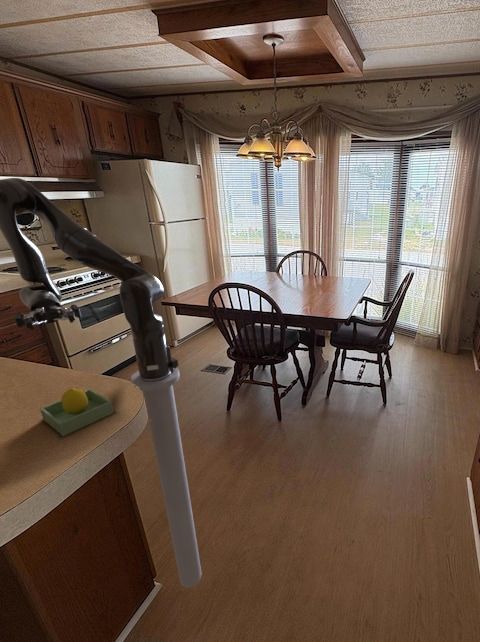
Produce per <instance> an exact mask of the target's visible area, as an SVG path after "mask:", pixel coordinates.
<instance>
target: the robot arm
mask: <svg viewBox="0 0 480 642" xmlns="http://www.w3.org/2000/svg"><path fill="white" fill-rule="evenodd" d="M27 213H30V214H32V215H34V216H36V217H37V218H39V219H40V220H41V221H42V222H44V223H45V224H46V225H47V226H48V228H49V230H50V233H51V236H52V238H53V240H54V241H53V242H54V243H55V245H56V246H57V247H58V248H59V250H60V251H61V252H63V253H64V254H66V255H67V256H69V257H70V258H71V259H73V260H74V261H75V262H77V263H79V264H80V265H82V266H83V267H87V268H89V269H92V270H95V271H98V272H100V273H104V274H106V275H108V276H112V277H114V278H115V279H117V280H119V281H121V284H120V286H119V298H120V302H121V306H122V311H123V314H124V317H125V320H126V321H127V323H128V324H129V327H130V328H129V329H130V332H131V337H132V343H133V348H134V352H135V358H136V363H137V368H138V371H139V376H140V379H141V380H143V381H158V380H162V379H164V378H166V377H168V376H169V375H170V374H171V373H172V372H173V368H175V369H176V367H177V368H178V367H179V360H178V359H177V358H174V357H172V354H171V346H170V345H167V339H166V333H165V327H164V320H163V317H162V315H159V314H157V313H155V311H154V309H153V304H155V303H156V302H158V301H159V300H160V299H162V298H163V297H164V294H165V290H164V286H163V284H162V282H161V281H160V280H159V279H158V278H157V276H155V275H153V273H150V272H149V271H148V270H145V269H144V268H142V267H140V266H139V265H137V264H135V262H133V261H131V260H130V259H128V258H127V257H125V256H124V255H122V254H121V253H119V252H118V251H117V250H115V249H114V248H112V247H111V246H110V245H108V244H107V243H106V242H104V241H103V240H102V239H101V238H99V237H98V236H97V235H95V234H94V233H92V232H91V230H88V229H87V228H86V227H84V226H83V225H82V224H80V223H79V222H77V221H76V220H75V219H73V218H72V217H71V216H69V215H68V213H66V212H64V211H63V210H62V209H61V208H60V207H58V206H57V205H55V203H53V202H52V201H51V200H50V199H49V198H48V197H47V196H46V195H45V194H44V193H42V192H41V191H40V190H39V189H38V188H37V187H36V186H34V185H33V184H32V183H30V182H29V181H27V180H25V179H23V178H20V177H10V178H2V179H0V232H1V234H2V236H3V237H4V239H5V241H6V242H7V245H8V247H9V248H10V251H11V252H12V255H13V258H14V261H15V264H16V268H17V270H18V273H19V275H20V278H21V279H22V280H23V281H25V282H28V283H39V284H33V285H26V286H23V287H21V289H20V291H19V299H20V301H21V302H22V304H23V305H24V306H25V307H27V308H28V309H29V312H28V313H27V314H24V313H22V312H21V311H20V312H19V311H18V312H15V314H14V321H15V324H16V327H17V328H22V327H24V326H25V328H26V329H30V330H35V328H34V326H38V325H40V324H53V323H56V322H58V321H66V320H68V321H69V323H71V324H72V323H74V322H75V321H76V318H79V319H80V318H82V313H81V308H80V307H78V305H77V304H74V303H73V304H71V305H70V306H69V307H64V306H62V303H61V301H62V292H61V290H60V289H59V287H58V286H57V285H56V283H55V282H54V280H53V279H52V277H51V275H50V272H49V269H48V266H47V264H46V260H45V256H44V254H43V253H42V251H41V250H40V248H39V246H37V244H35V243H34V242H33V241H32V240H31V239H30V238H28V237H27V235H25V233H24V232H23V231H22V230H21V228H20V227H19V223H18V220H17V216H19V215H23V214H27Z"/></svg>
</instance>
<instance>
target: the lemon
mask: <svg viewBox="0 0 480 642" xmlns="http://www.w3.org/2000/svg"><path fill="white" fill-rule="evenodd" d="M61 400H62V407H63V409H64V410H65V411H66V412H67V413H69V414H77V415H79V414H80V413H81V412H83V411H84V410H85V409H86V408H87V406H88V398H87V396H86V394H85V393H84V390H82V389H80V388H78V387H77V388H76V387H75V388H73V387H70V388H69V389H68V390H65V392H64V393H63V394H62V396H61Z"/></svg>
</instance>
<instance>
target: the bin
mask: <svg viewBox="0 0 480 642" xmlns="http://www.w3.org/2000/svg"><path fill="white" fill-rule="evenodd" d="M83 392H84V393H85V394H86V396H87V398H88V406H87V408H86V409H85V410H84V411H83V412H81V413H80V414H79V415H77V414H69V413H67V412H66V411H65V410H64V409H63V407H62V399H61V400H58V401H56V402H53V403H50V404H48V405H45V406H43V407H40V408H39V411H40V413H41V416H42V420H43V421H44V422H45V423H47V424H48V425H49V426H50V427H52V428H53V429H54V430H55V431H56V432H57V433H58V434H60V435H61V436H62V437H64V436H68V435H69V434H71V433H73V432H76V431H78V430H80V429H82V428H84V427H86V426H89V425H91V424H93V423H95V422H98V421H100V420H102V419H103V418H106V417H108V416H110V415H112V414H114V413H115V411H114V406H113V403H112V401H111V400H110V399H108V398H106V397H105V396H103V395H102V394H100V393H99V392H96V391H95V390H93V389H92V388H89V389H87V390H83Z"/></svg>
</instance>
